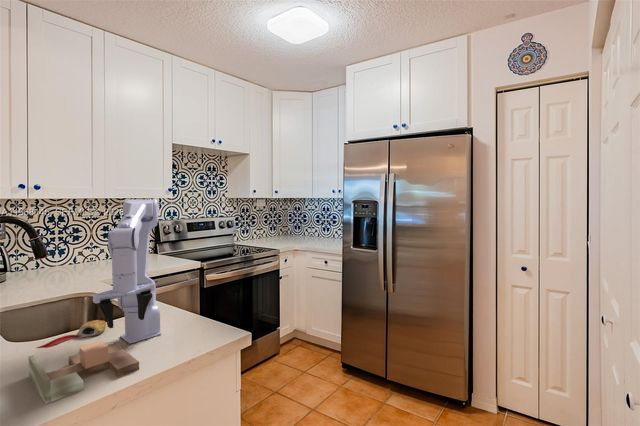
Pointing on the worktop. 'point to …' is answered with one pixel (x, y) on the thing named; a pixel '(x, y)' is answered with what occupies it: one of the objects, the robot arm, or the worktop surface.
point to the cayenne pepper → (59, 341)
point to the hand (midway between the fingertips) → (126, 322)
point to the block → (94, 354)
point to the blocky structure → (77, 373)
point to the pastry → (92, 328)
